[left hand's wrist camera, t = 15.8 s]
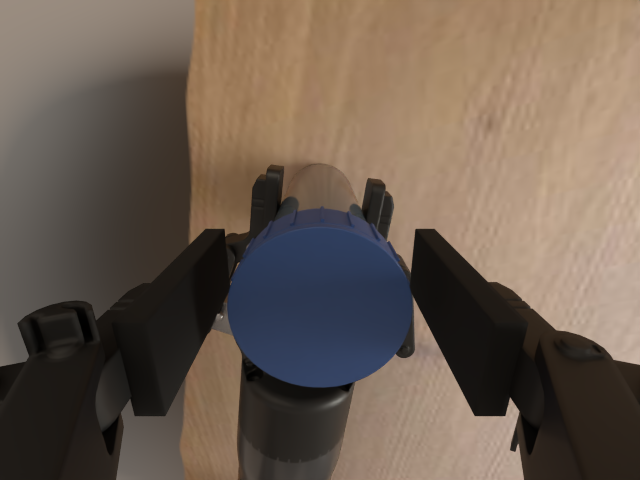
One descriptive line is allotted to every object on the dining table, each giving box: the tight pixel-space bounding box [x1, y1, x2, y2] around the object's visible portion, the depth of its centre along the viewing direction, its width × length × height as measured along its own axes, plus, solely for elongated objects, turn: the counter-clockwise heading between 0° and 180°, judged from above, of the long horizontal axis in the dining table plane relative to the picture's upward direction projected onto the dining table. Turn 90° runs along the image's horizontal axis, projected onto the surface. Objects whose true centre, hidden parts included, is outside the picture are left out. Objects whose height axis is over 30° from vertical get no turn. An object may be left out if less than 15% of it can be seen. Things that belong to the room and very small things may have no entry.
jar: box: [274, 164, 366, 222], centre depth 18 cm, size 5×5×15 cm
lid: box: [227, 206, 413, 387], centre depth 11 cm, size 6×6×2 cm
